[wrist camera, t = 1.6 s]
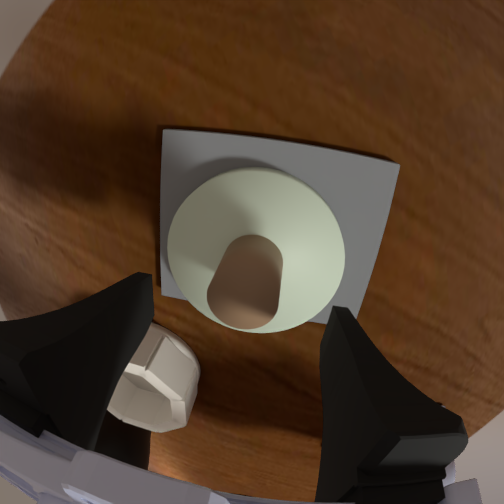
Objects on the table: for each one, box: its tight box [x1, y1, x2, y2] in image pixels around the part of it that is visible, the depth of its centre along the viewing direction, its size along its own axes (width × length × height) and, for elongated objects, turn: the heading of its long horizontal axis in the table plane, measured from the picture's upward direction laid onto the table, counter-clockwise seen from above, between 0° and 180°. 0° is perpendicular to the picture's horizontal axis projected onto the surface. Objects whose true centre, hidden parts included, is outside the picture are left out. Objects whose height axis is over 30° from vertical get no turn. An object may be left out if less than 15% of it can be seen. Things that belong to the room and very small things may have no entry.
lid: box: [167, 167, 345, 333], centre depth 15 cm, size 9×9×5 cm
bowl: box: [107, 322, 201, 433], centre depth 21 cm, size 8×8×4 cm
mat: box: [160, 129, 400, 324], centre depth 17 cm, size 12×10×1 cm
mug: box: [94, 410, 151, 471], centre depth 25 cm, size 8×12×10 cm
